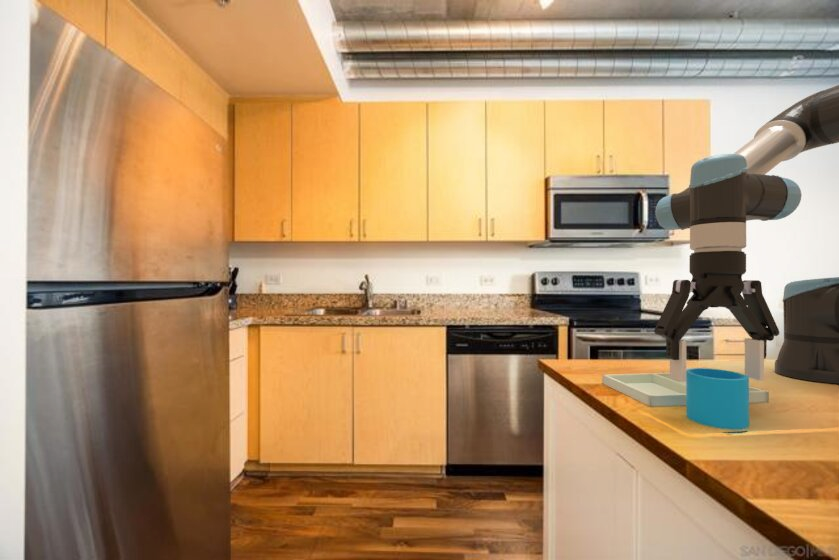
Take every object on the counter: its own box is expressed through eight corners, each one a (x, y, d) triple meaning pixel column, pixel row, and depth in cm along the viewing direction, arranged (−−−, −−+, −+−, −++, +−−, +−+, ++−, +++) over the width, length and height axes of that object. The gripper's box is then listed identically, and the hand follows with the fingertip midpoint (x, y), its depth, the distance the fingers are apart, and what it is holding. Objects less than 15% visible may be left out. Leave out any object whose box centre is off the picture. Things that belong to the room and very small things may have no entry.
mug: (746, 438, 58) (746, 383, 58) (681, 424, 64) (681, 374, 64) (752, 417, 67) (752, 369, 67) (695, 406, 73) (694, 362, 73)
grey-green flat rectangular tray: (700, 382, 89) (700, 371, 89) (768, 405, 73) (768, 391, 73) (602, 386, 87) (602, 374, 87) (650, 409, 71) (650, 396, 71)
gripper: (764, 253, 70) (763, 372, 70) (631, 251, 68) (630, 374, 68) (809, 250, 63) (808, 383, 63) (661, 248, 61) (661, 386, 61)
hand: (716, 379), depth 66 cm, fingers open, 13 cm apart
